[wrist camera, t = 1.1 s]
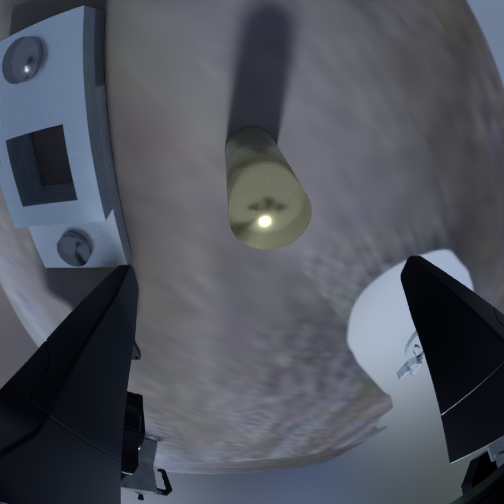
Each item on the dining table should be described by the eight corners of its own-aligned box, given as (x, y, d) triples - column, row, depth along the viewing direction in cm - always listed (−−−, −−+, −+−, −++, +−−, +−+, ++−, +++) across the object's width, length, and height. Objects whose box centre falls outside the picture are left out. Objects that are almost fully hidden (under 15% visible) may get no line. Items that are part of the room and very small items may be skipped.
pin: (273, 174, 18) (304, 248, 12) (224, 174, 18) (228, 250, 12) (277, 127, 16) (317, 179, 10) (225, 126, 16) (229, 178, 10)
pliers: (464, 323, 34) (425, 371, 43) (460, 315, 35) (423, 364, 44) (420, 337, 33) (384, 384, 42) (415, 328, 34) (381, 377, 44)
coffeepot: (114, 437, 57) (111, 495, 43) (123, 432, 53) (120, 497, 39) (164, 449, 64) (165, 502, 50) (178, 444, 60) (180, 504, 46)
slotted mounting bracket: (131, 254, 21) (121, 286, 18) (51, 256, 20) (35, 285, 17) (105, 11, 10) (79, 4, 7) (8, 48, 9) (-25, 54, 6)
